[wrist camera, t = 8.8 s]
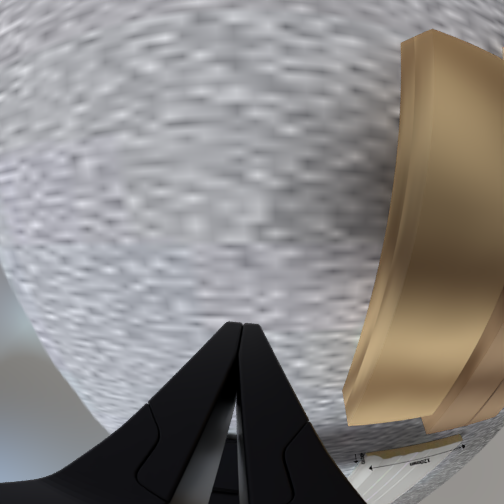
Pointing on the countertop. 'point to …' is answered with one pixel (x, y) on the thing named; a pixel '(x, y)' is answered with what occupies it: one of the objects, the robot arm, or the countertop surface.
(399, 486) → the baseboard molding
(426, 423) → the floor board
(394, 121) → the countertop surface
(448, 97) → the plank
